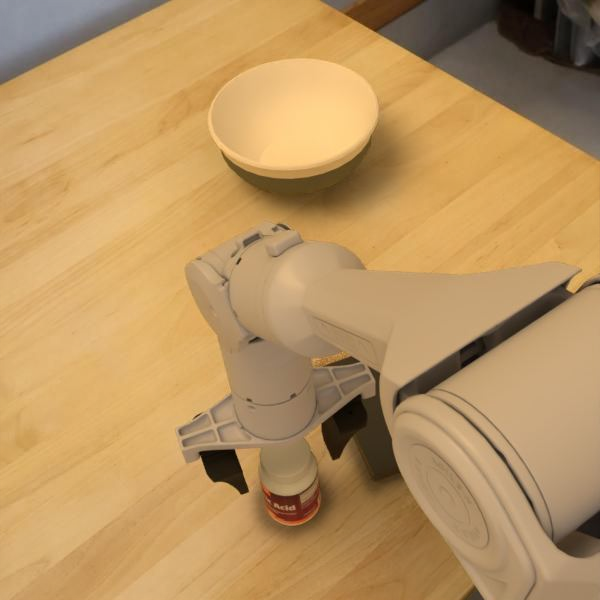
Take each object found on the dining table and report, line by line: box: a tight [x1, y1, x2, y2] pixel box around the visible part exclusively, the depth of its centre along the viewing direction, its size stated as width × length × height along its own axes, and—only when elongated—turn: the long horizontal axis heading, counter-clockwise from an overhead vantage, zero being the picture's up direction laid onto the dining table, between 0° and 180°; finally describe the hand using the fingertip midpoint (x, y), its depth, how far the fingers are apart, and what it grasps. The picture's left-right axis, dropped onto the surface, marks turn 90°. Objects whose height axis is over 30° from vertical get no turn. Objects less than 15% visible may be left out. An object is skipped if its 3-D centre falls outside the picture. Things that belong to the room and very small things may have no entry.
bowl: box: [207, 57, 381, 195], centre depth 95 cm, size 19×19×8 cm
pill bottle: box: [257, 437, 322, 527], centre depth 69 cm, size 5×5×8 cm
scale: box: [321, 355, 401, 482], centre depth 76 cm, size 13×11×3 cm
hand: (286, 465), depth 68 cm, fingers open, 7 cm apart
